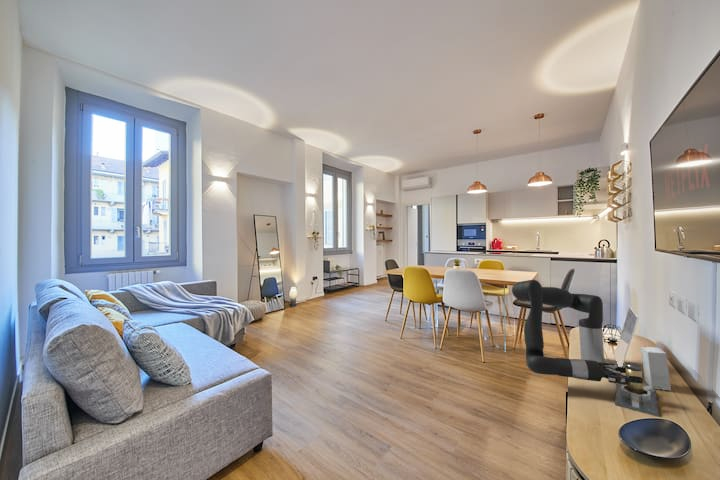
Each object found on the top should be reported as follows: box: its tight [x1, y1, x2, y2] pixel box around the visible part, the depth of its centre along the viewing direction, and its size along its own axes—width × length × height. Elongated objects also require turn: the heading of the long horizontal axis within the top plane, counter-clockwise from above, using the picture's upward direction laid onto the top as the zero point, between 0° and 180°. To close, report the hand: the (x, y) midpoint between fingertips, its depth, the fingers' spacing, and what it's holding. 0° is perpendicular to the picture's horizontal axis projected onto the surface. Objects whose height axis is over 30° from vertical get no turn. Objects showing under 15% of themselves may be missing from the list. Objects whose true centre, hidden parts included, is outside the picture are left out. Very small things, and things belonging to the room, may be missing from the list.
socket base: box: [614, 384, 659, 417], centre depth 108 cm, size 20×11×4 cm, turn 136°
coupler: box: [624, 361, 644, 394], centre depth 108 cm, size 5×5×12 cm
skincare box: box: [640, 346, 672, 392], centre depth 118 cm, size 8×6×15 cm
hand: (636, 375), depth 108 cm, fingers open, 8 cm apart
